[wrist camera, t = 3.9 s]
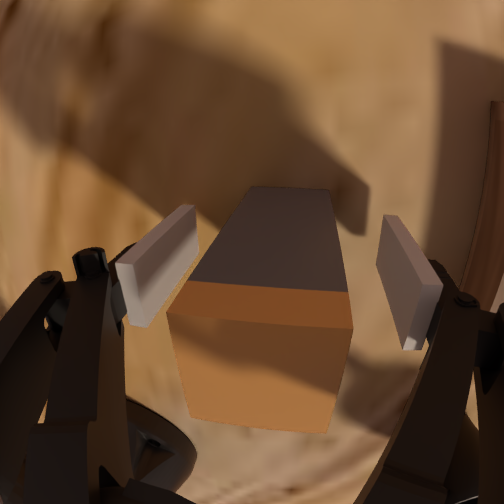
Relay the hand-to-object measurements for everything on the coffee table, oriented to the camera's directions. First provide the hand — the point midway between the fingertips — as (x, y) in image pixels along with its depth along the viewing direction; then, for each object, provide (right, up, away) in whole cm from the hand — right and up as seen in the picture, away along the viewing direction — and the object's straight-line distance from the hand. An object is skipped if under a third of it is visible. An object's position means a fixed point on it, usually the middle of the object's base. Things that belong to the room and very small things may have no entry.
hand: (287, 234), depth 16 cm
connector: (0, +1, +1) cm, 1 cm away
